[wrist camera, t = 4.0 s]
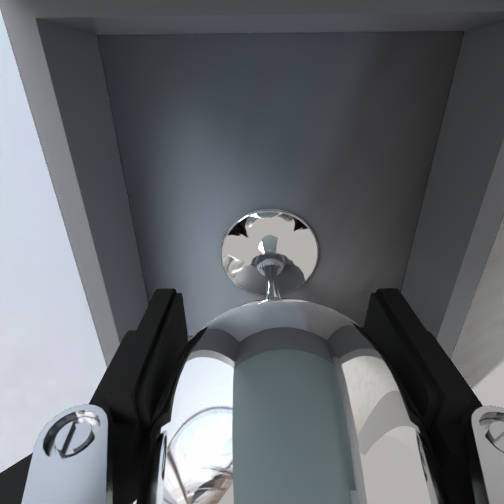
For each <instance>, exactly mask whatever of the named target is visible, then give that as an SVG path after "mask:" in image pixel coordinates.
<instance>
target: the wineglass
mask: <svg viewBox="0 0 504 504" xmlns="http://www.w3.org/2000/svg"><path fill="white" fill-rule="evenodd" d="M318 255H319V251H318V243H317V239H316V236H315V234H314V232H313V230H312V229H311V228H310V226H309V225H308V224H307V223H306V222H305V221H304V220H303V219H301V218H300V217H298V216H297V215H295V214H293V213H290V212H287V211H284V210H279V209H262V210H256V211H254V212H251V213H248V214H246V215H244V216H243V217H241V218H240V219H238V220H237V221H235V222H234V223H233V225H232V226H231V227H230V228H229V229H228V231H227V232H226V234H225V236H224V238H223V241H222V245H221V255H220V257H221V262H222V266H223V268H224V270H225V272H226V274H227V276H228V277H229V278H230V280H231V281H232V282H233V283H234V284H235V285H237V286H238V287H239V288H241V289H243V290H244V291H246V292H249V293H252V294H255V295H260V296H266V298H265V300H258V301H254V302H251V303H247V304H244V305H241V306H238V307H235V308H232V309H230V310H228V311H227V312H225V313H223V314H221V315H219V316H217V317H216V318H214V319H213V320H212V321H210V322H209V323H208V324H206V325H205V326H204V327H203V328H201V329H200V330H199V331H198V332H197V333H196V334H195V335H194V336H193V337H192V338H191V339H190V340H189V342H188V343H187V344H186V345H185V347H184V348H183V350H182V351H181V353H180V354H179V356H178V357H177V359H176V360H175V362H174V364H173V366H172V368H171V370H170V372H169V374H168V376H167V378H166V380H165V382H164V384H163V387H162V389H161V392H160V394H159V397H158V400H157V403H156V406H155V409H154V412H153V416H152V420H151V424H150V428H149V432H148V436H147V440H146V445H145V450H144V455H143V461H142V467H141V473H140V479H139V488H138V496H137V504H452V503H451V500H450V497H449V494H448V491H447V487H446V484H445V481H444V478H443V475H442V472H441V469H440V465H439V462H438V459H437V456H436V453H435V450H434V447H433V444H432V440H431V437H430V435H429V432H428V430H427V427H426V424H425V422H424V420H423V417H422V415H421V413H420V411H419V409H418V407H417V405H416V403H415V400H414V398H413V396H412V394H411V392H410V390H409V388H408V386H407V384H406V382H405V380H404V378H403V377H402V375H401V374H400V372H399V371H398V370H397V368H396V367H395V365H394V364H393V362H392V361H391V360H390V358H389V357H388V355H387V354H386V352H385V351H384V349H383V348H382V347H381V346H380V345H379V344H378V343H377V342H376V340H375V339H374V338H373V337H372V336H371V335H370V334H369V333H368V332H367V331H366V330H365V329H363V328H362V327H361V326H359V325H358V324H357V323H356V322H354V321H353V320H352V319H350V318H348V317H346V316H344V315H342V314H341V313H339V312H337V311H335V310H333V309H331V308H328V307H326V306H322V305H319V304H316V303H312V302H309V301H306V300H296V299H286V298H281V297H280V295H282V294H286V293H289V292H291V291H293V290H295V289H297V288H298V287H300V286H301V285H302V284H304V283H305V282H306V281H307V280H308V278H309V277H310V276H311V274H312V273H313V271H314V269H315V267H316V264H317V261H318Z"/></svg>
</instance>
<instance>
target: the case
mask: <svg viewBox="0 0 504 504" xmlns="http://www.w3.org/2000/svg"><path fill="white" fill-rule="evenodd" d="M0 9H1V13H2V16H3V19H4V23H5V26H6V29H7V33H8V36H9V40H10V43H11V46H12V50H13V53H14V56H15V60H16V63H17V66H18V70H19V73H20V77H21V80H22V83H23V87H24V90H25V93H26V97H27V100H28V103H29V107H30V110H31V114H32V117H33V120H34V124H35V127H36V130H37V134H38V137H39V140H40V144H41V147H42V151H43V154H44V157H45V161H46V164H47V167H48V171H49V174H50V177H51V181H52V184H53V188H54V191H55V194H56V198H57V201H58V204H59V208H60V211H61V214H62V218H63V221H64V225H65V228H66V231H67V235H68V238H69V241H70V245H71V248H72V251H73V255H74V258H75V262H76V265H77V268H78V272H79V275H80V278H81V282H82V285H83V288H84V292H85V295H86V299H87V302H88V305H89V309H90V312H91V315H92V319H93V322H94V325H95V329H96V332H97V336H98V339H99V342H100V346H101V349H102V352H103V356H104V359H105V363H106V366H107V368H108V366H109V364H110V362H111V360H112V359H113V357H114V355H115V353H116V351H117V349H118V347H119V345H120V343H121V341H122V339H123V337H124V335H125V334H126V333H127V332H128V331H129V330H137V328H138V326H139V324H140V322H141V320H142V318H143V316H144V313H145V311H146V309H147V307H148V305H149V304H148V299H147V294H146V289H145V283H144V278H143V273H142V268H141V263H140V257H139V252H138V247H137V242H136V237H135V231H134V226H133V221H132V216H131V210H130V205H129V200H128V195H127V190H126V184H125V179H124V174H123V169H122V163H121V158H120V153H119V148H118V143H117V137H116V132H115V127H114V122H113V117H112V111H111V106H110V101H109V96H108V90H107V85H106V80H105V75H104V70H103V64H102V59H101V54H100V49H99V43H98V38H97V35H136V34H218V33H300V32H382V31H464V30H465V31H464V35H463V39H462V43H461V47H460V51H459V55H458V60H457V64H456V68H455V72H454V76H453V80H452V84H451V88H450V92H449V96H448V100H447V105H446V109H445V113H444V117H443V121H442V125H441V129H440V133H439V137H438V141H437V145H436V150H435V154H434V158H433V162H432V166H431V170H430V174H429V178H428V182H427V186H426V190H425V195H424V199H423V203H422V207H421V211H420V215H419V219H418V223H417V227H416V231H415V235H414V240H413V244H412V248H411V252H410V256H409V260H408V264H407V268H406V272H405V276H404V280H403V285H402V289H401V294H402V295H403V297H404V298H405V299H406V301H407V302H408V304H409V305H410V307H411V308H412V310H413V311H414V313H415V314H416V315H417V317H418V318H419V320H420V321H421V323H422V324H423V326H424V327H425V328H426V330H427V331H429V332H431V333H432V335H433V336H434V337H435V338H436V340H437V341H438V343H439V344H440V345H441V347H442V348H443V350H444V351H445V353H446V354H447V355H448V357H449V358H450V359H451V356H452V353H453V351H454V348H455V345H456V342H457V340H458V337H459V334H460V332H461V329H462V326H463V324H464V321H465V318H466V316H467V313H468V310H469V308H470V305H471V302H472V299H473V297H474V294H475V291H476V289H477V286H478V283H479V281H480V278H481V275H482V273H483V270H484V267H485V265H486V262H487V259H488V257H489V254H490V251H491V248H492V246H493V243H494V240H495V238H496V235H497V232H498V230H499V227H500V224H501V222H502V219H503V216H504V0H0ZM192 337H193V336H188V342H189V340H190V339H191V338H192Z"/></svg>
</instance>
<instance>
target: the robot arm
mask: <svg viewBox="0 0 504 504" xmlns="http://www.w3.org/2000/svg"><path fill="white" fill-rule="evenodd" d="M364 329H365V330H366V331H367V332H368V333H369V334H370V335H371V336H372V337H373V338H374V339H375V340H376V342H377V343H378V344H379V345H380V346H381V347H382V348H383V349H384V351H385V352H386V354H387V355H388V357H389V358H390V360H391V361H392V362H393V364H394V365H395V367H396V368H397V370H398V371H399V372H400V374H401V375H402V377H403V378H404V380H405V382H406V384H407V386H408V388H409V390H410V392H411V394H412V396H413V398H414V400H415V403H416V405H417V407H418V409H419V411H420V413H421V415H422V417H423V420H424V422H425V424H426V427H427V430H428V432H429V435H430V437H431V440H432V444H433V447H434V450H435V453H436V456H437V459H438V462H439V465H440V469H441V472H442V475H443V478H444V481H445V484H446V487H447V491H448V494H449V497H450V500H451V503H452V504H504V408H502V407H496V406H482V404H481V402H480V401H479V400H478V398H477V397H476V395H475V394H474V393H473V391H472V390H471V388H470V387H469V385H468V384H467V383H466V381H465V380H464V378H463V377H462V375H461V374H460V373H459V371H458V370H457V368H456V367H455V365H454V364H453V363H452V361H451V360H450V358H449V357H448V355H447V354H446V353H445V351H444V350H443V348H442V347H441V345H440V344H439V343H438V341H437V340H436V338H435V337H434V336H433V335H432V333H431V332H429V331H427V330H426V328H425V327H424V326H423V324H422V323H421V321H420V320H419V318H418V317H417V315H416V314H415V313H414V311H413V310H412V308H411V307H410V305H409V304H408V302H407V301H406V299H405V298H404V297H403V295H402V294H401V292H400V291H399V290H398V289H396V288H379V289H377V291H376V293H372V294H371V295H370V300H369V305H368V310H367V316H366V321H365V326H364ZM187 343H188V336H187V328H186V320H185V312H184V305H183V297H182V294H181V293H176V290H175V289H156V291H155V293H154V295H153V297H152V299H151V301H150V303H149V305H148V307H147V309H146V311H145V313H144V316H143V318H142V320H141V322H140V324H139V326H138V328H137V330H129V331H128V332H127V333H126V334H125V335H124V337H123V339H122V341H121V343H120V345H119V347H118V349H117V351H116V353H115V355H114V357H113V359H112V360H111V362H110V364H109V366H108V368H107V370H106V372H105V374H104V376H103V378H102V380H101V382H100V384H99V385H98V387H97V389H96V391H95V393H94V395H93V397H92V399H91V401H90V403H89V404H84V405H78V406H74V407H72V408H69V409H67V410H65V411H63V412H61V413H60V414H58V415H56V416H55V417H54V418H53V419H52V420H51V421H49V422H48V423H47V424H46V425H45V427H44V428H43V429H42V431H41V432H40V433H39V435H38V438H37V440H36V443H35V446H34V450H33V453H32V454H30V455H29V456H27V457H25V458H24V459H22V460H21V461H19V462H17V463H16V464H14V465H13V466H11V467H9V468H8V469H6V470H5V471H3V472H1V473H0V504H133V502H134V501H135V500H136V499H137V496H138V488H139V479H140V473H141V467H142V461H143V455H144V450H145V445H146V440H147V436H148V432H149V428H150V424H151V420H152V416H153V412H154V409H155V406H156V403H157V400H158V397H159V394H160V392H161V389H162V387H163V384H164V382H165V380H166V378H167V376H168V374H169V372H170V370H171V368H172V366H173V364H174V362H175V360H176V359H177V357H178V356H179V354H180V353H181V351H182V350H183V348H184V347H185V345H186V344H187Z"/></svg>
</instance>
